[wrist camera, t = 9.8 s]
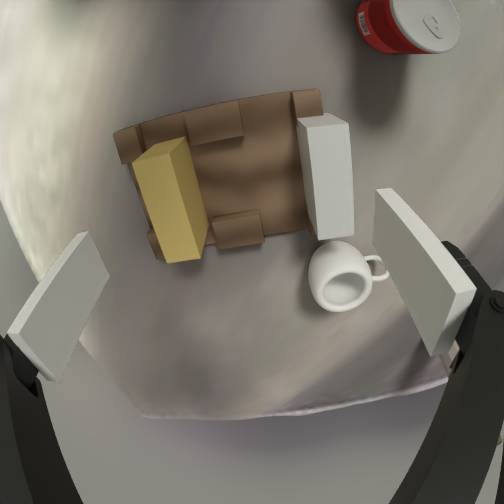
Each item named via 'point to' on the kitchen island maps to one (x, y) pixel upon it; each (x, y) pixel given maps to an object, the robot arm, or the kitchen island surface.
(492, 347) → the robot arm
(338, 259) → the mug
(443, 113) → the kitchen island surface
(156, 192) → the ochre bar
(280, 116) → the comb rack
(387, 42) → the canned food
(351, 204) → the grey bar
